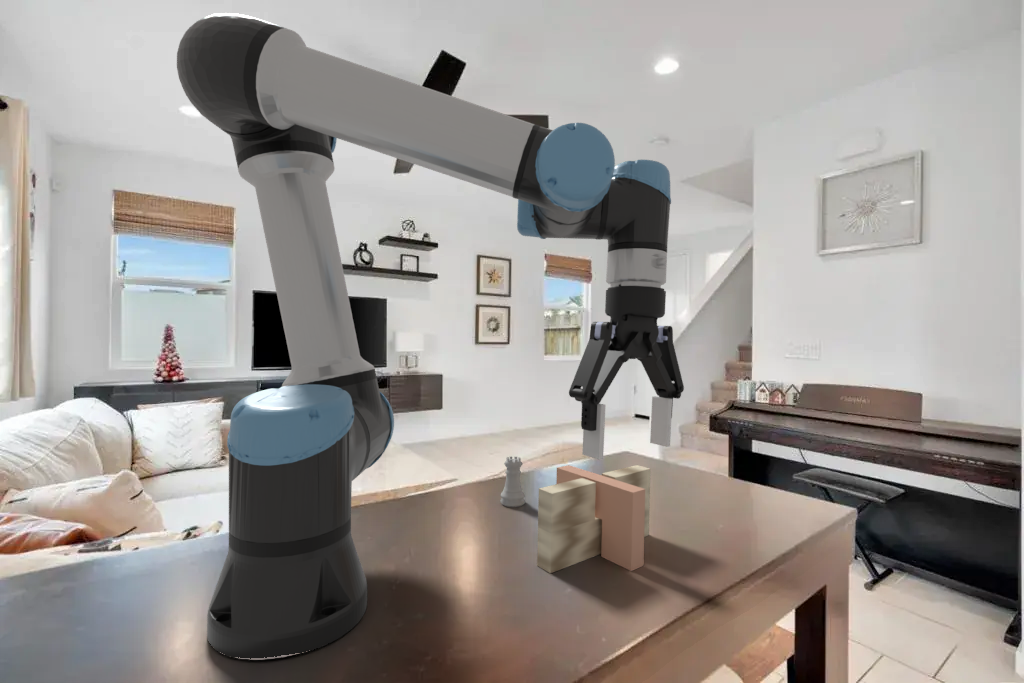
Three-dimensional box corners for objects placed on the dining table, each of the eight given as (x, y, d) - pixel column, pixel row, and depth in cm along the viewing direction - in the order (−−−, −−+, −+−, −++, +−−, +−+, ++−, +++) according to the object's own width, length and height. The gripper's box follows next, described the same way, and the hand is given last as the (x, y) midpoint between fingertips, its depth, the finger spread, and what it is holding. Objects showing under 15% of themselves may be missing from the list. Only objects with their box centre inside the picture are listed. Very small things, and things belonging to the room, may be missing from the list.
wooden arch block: (643, 565, 64) (645, 489, 64) (631, 571, 63) (633, 492, 63) (567, 530, 75) (568, 465, 75) (555, 534, 74) (556, 467, 74)
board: (550, 573, 62) (551, 493, 62) (537, 565, 64) (538, 488, 64) (649, 535, 74) (650, 468, 74) (635, 529, 76) (636, 465, 76)
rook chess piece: (530, 502, 88) (530, 457, 88) (516, 509, 84) (517, 462, 84) (508, 497, 90) (509, 453, 90) (494, 504, 86) (495, 458, 86)
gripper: (590, 274, 53) (582, 470, 54) (714, 293, 69) (707, 445, 69) (544, 279, 59) (537, 455, 60) (667, 295, 75) (661, 435, 75)
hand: (628, 450), depth 64 cm, fingers open, 13 cm apart
